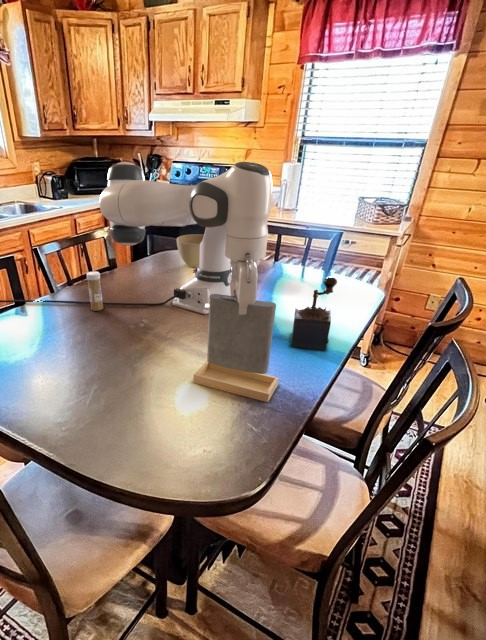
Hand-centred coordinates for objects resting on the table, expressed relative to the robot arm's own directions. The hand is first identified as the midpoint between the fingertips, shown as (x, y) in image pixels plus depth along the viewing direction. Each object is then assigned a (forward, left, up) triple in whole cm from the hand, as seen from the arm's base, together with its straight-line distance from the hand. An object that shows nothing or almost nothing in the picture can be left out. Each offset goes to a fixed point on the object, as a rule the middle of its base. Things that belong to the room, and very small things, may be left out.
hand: (240, 308), depth 97 cm
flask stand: (0, 0, -21) cm, 21 cm away
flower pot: (-55, +90, -21) cm, 108 cm away
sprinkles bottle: (-64, +25, -21) cm, 72 cm away
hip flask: (0, 0, -16) cm, 16 cm away
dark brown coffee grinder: (+11, +35, -21) cm, 43 cm away
